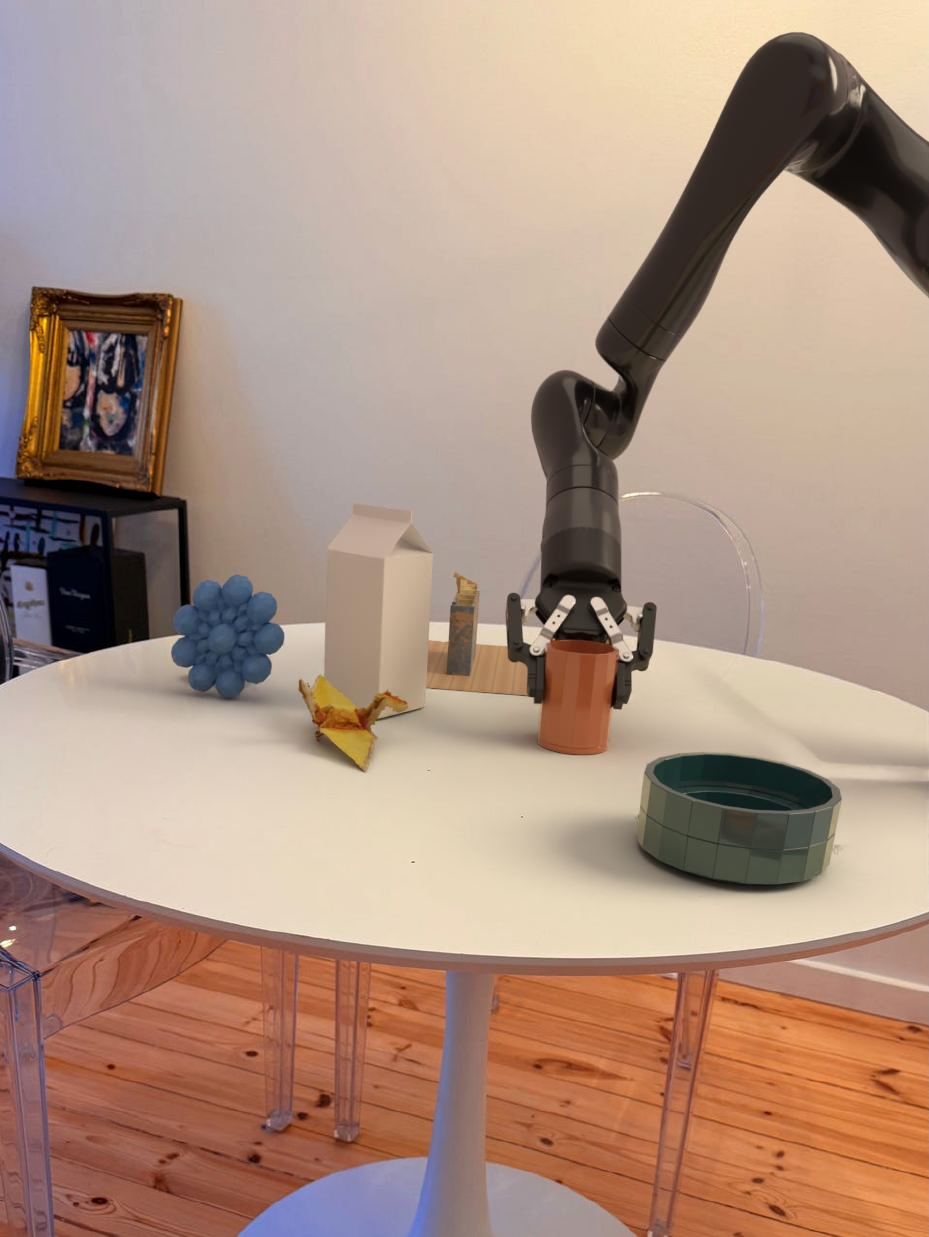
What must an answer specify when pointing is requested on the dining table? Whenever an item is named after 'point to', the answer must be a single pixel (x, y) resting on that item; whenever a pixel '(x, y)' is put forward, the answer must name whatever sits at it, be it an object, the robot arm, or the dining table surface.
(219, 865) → the dining table surface
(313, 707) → the origami crane
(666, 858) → the bowl
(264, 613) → the blue sphere cluster flower
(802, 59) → the robot arm
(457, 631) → the rusty post on board
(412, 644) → the milk carton
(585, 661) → the cup
